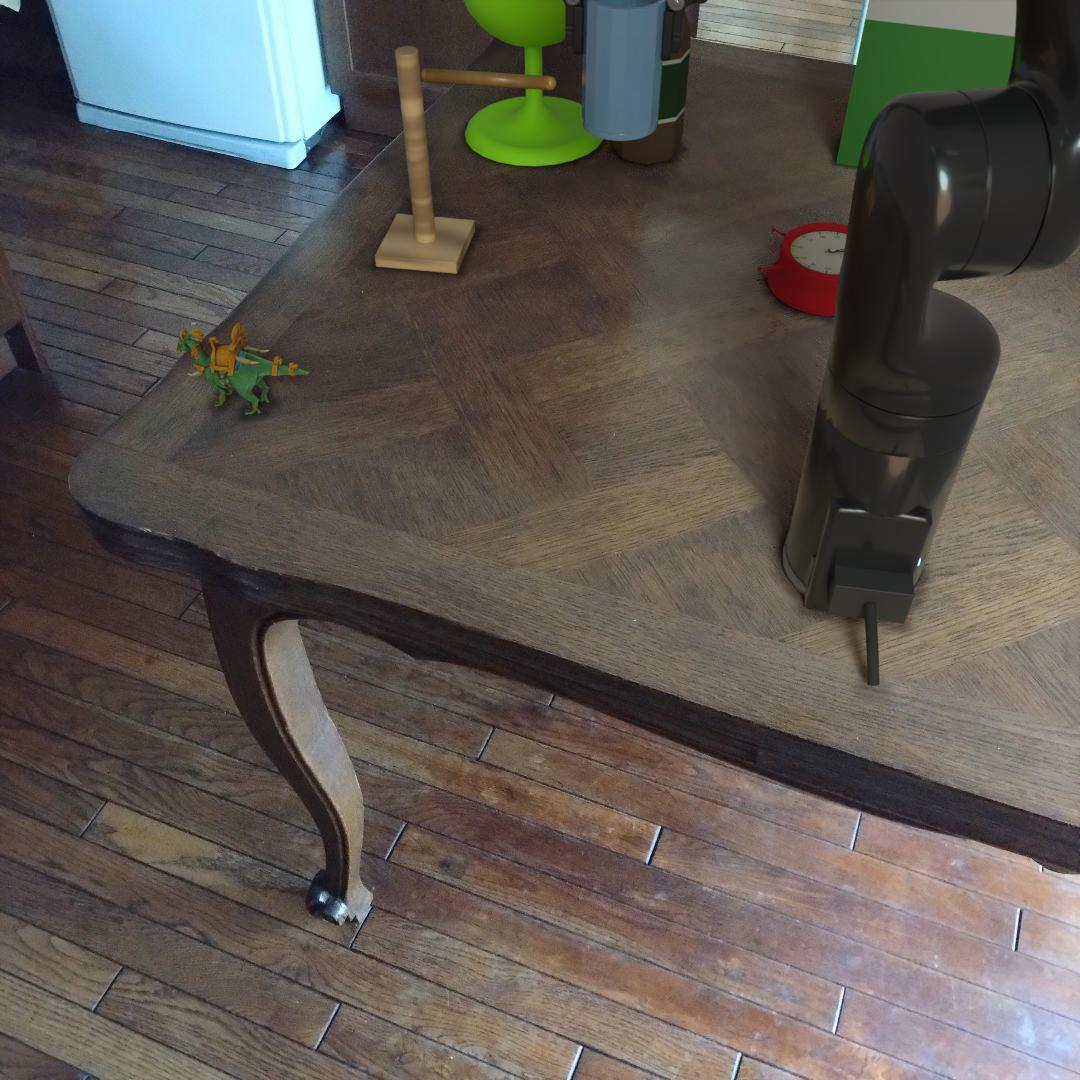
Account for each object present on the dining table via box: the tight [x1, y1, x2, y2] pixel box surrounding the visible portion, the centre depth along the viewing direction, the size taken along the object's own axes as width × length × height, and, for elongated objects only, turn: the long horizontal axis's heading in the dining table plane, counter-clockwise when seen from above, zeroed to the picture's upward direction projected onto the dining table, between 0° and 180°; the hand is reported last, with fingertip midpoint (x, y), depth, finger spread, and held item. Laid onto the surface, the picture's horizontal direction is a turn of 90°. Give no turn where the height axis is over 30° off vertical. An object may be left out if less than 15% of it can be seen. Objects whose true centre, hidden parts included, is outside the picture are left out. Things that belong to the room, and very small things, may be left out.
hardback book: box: [835, 0, 1016, 168], centre depth 107 cm, size 18×7×24 cm, turn 70°
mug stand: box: [374, 45, 557, 274], centre depth 97 cm, size 8×17×19 cm, turn 80°
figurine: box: [176, 322, 310, 416], centre depth 85 cm, size 3×12×8 cm, turn 72°
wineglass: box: [462, 0, 604, 167], centre depth 114 cm, size 16×16×18 cm
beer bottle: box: [611, 11, 692, 165], centre depth 109 cm, size 8×8×24 cm
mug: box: [581, 0, 667, 141], centre depth 84 cm, size 10×6×10 cm, turn 170°
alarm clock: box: [757, 221, 935, 317], centre depth 96 cm, size 10×6×15 cm
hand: (623, 53), depth 83 cm, fingers closed on mug, 6 cm apart
